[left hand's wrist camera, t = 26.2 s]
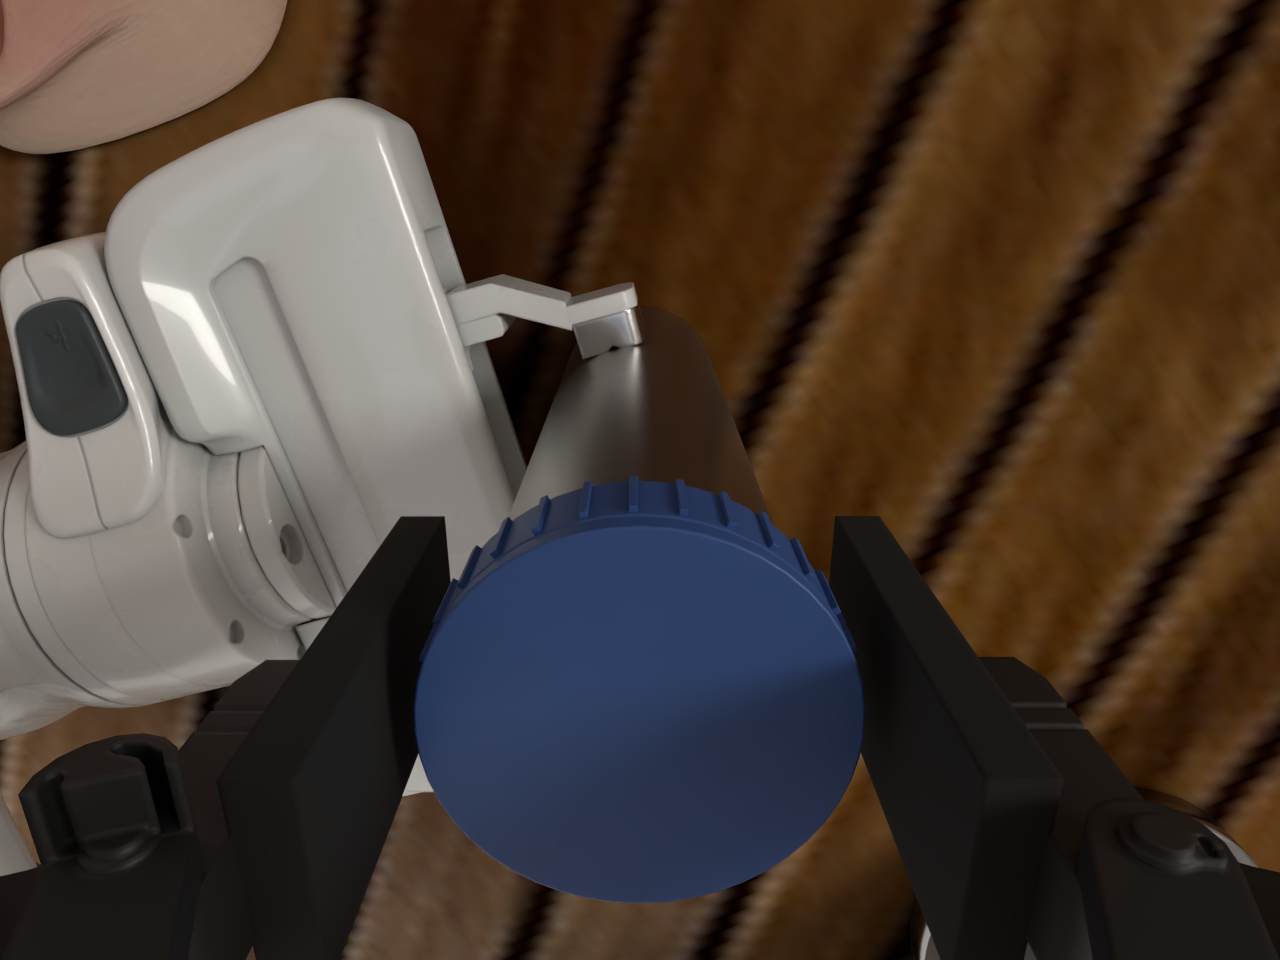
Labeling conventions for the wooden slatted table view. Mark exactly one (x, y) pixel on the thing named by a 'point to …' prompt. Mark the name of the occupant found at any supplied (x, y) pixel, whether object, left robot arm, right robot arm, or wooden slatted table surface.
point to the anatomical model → (120, 64)
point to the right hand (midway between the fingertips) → (669, 420)
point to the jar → (641, 422)
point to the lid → (639, 694)
